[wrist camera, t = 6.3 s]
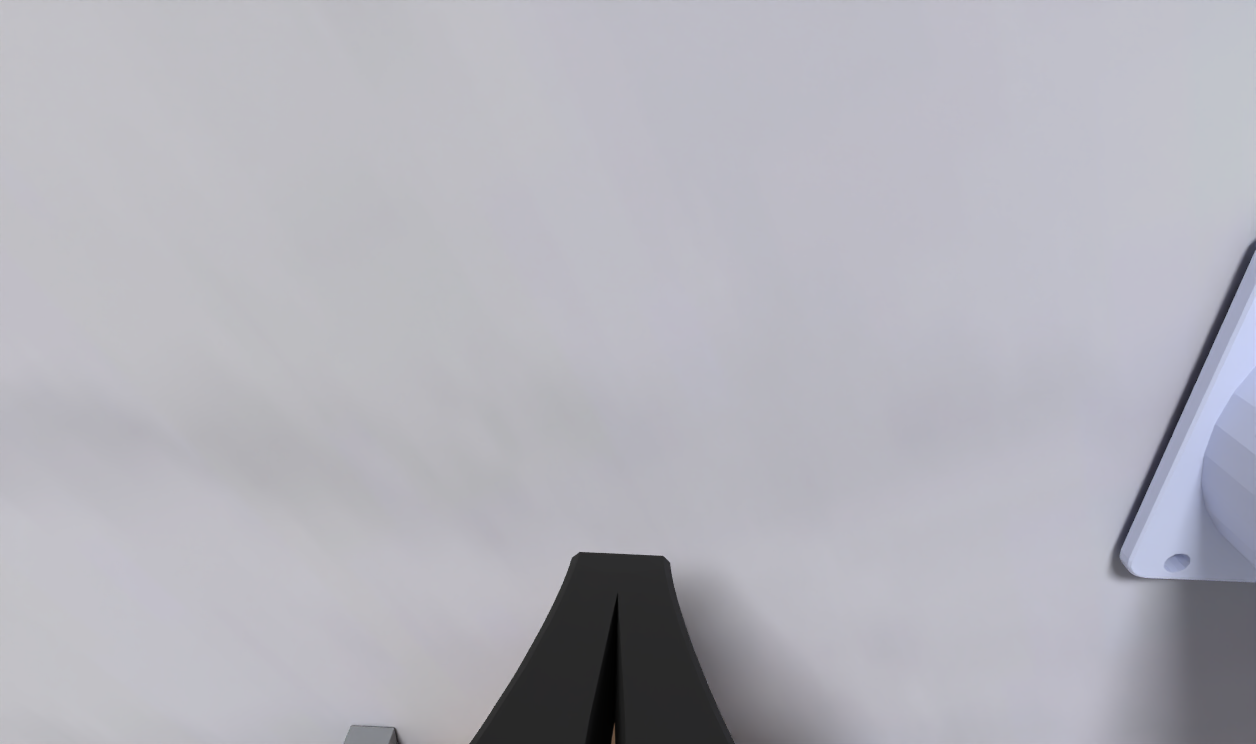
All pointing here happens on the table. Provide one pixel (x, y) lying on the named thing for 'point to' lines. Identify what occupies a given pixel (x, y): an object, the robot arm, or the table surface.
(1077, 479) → the table surface
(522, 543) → the table surface
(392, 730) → the dock
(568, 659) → the robot arm
